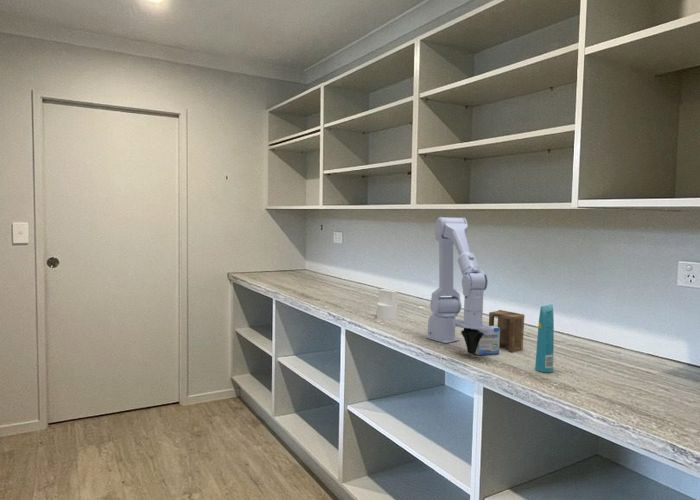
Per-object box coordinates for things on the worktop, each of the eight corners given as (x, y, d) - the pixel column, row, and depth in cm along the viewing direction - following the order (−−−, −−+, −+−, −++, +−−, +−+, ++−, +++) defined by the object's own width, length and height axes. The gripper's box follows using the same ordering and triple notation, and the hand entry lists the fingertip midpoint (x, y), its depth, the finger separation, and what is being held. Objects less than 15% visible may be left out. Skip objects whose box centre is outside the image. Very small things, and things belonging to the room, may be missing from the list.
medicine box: (478, 355, 156) (479, 328, 156) (470, 352, 160) (471, 326, 160) (499, 354, 159) (500, 327, 158) (491, 350, 163) (492, 324, 162)
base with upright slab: (401, 318, 212) (402, 290, 211) (386, 320, 206) (387, 292, 206) (387, 314, 219) (388, 288, 218) (372, 317, 213) (373, 289, 212)
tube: (540, 365, 147) (543, 302, 146) (556, 369, 144) (560, 304, 143) (530, 371, 141) (534, 305, 140) (547, 375, 138) (551, 308, 137)
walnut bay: (487, 346, 168) (489, 311, 168) (498, 343, 172) (500, 309, 172) (511, 352, 161) (513, 316, 160) (522, 349, 165) (524, 314, 164)
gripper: (447, 307, 157) (445, 349, 158) (484, 315, 146) (482, 360, 147) (461, 305, 162) (459, 346, 163) (498, 313, 150) (496, 356, 151)
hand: (471, 352), depth 155 cm, fingers closed
